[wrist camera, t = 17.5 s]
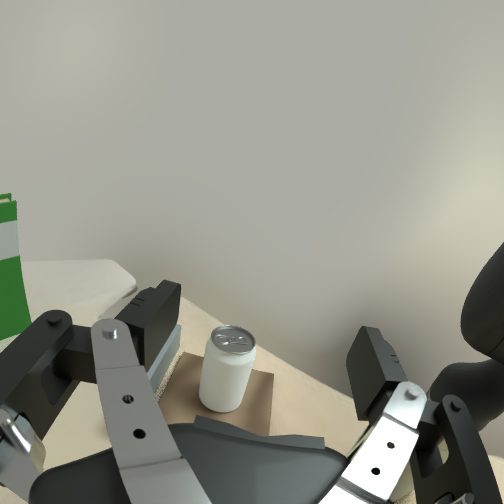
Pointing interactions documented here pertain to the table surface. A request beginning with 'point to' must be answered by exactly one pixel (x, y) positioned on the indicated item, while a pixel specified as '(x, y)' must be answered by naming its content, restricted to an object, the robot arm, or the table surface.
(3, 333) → the hardback book
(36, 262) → the table surface
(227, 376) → the can
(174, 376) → the walnut board
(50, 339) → the robot arm
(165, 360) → the low wall
